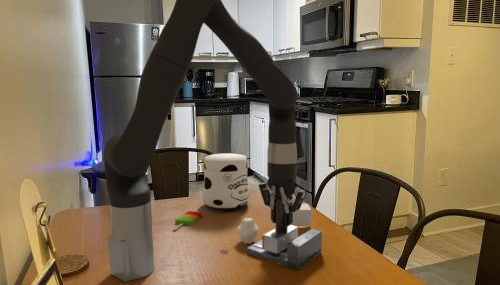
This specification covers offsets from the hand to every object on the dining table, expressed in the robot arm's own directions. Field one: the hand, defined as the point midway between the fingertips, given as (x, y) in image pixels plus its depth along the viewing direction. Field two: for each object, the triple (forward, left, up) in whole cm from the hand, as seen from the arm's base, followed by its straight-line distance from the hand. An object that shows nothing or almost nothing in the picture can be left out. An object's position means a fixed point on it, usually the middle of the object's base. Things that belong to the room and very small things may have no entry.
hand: (281, 223), depth 100 cm
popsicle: (-1, +36, -9) cm, 37 cm away
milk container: (+20, +37, -8) cm, 43 cm away
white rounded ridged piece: (0, +11, -8) cm, 14 cm away
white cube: (+20, +6, -8) cm, 23 cm away
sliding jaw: (0, 0, -6) cm, 6 cm away
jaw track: (0, -1, -8) cm, 8 cm away
